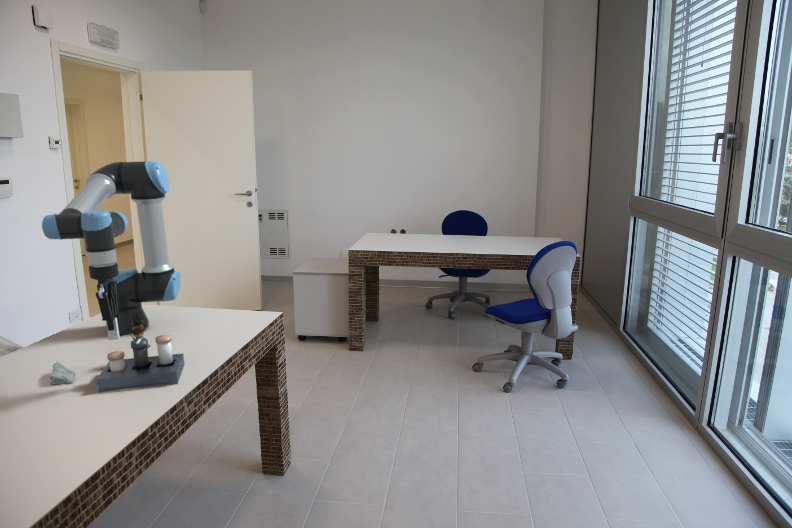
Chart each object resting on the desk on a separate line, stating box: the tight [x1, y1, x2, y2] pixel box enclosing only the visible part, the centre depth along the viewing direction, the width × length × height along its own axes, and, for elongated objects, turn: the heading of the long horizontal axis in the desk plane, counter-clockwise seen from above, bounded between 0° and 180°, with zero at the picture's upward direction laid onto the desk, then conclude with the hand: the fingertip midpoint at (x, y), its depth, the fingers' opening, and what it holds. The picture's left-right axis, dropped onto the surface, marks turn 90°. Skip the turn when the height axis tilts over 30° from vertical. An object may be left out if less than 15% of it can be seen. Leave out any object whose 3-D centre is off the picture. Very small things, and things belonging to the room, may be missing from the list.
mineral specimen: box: [49, 361, 77, 385], centre depth 164 cm, size 6×12×4 cm, turn 27°
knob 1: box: [106, 350, 125, 372], centre depth 161 cm, size 5×5×8 cm
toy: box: [129, 321, 151, 350], centre depth 174 cm, size 6×6×15 cm
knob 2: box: [154, 334, 173, 365], centre depth 163 cm, size 5×5×8 cm
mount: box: [96, 353, 185, 393], centre depth 163 cm, size 14×22×4 cm, turn 104°
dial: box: [129, 337, 149, 367], centre depth 162 cm, size 5×5×8 cm
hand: (114, 338), depth 160 cm, fingers closed
